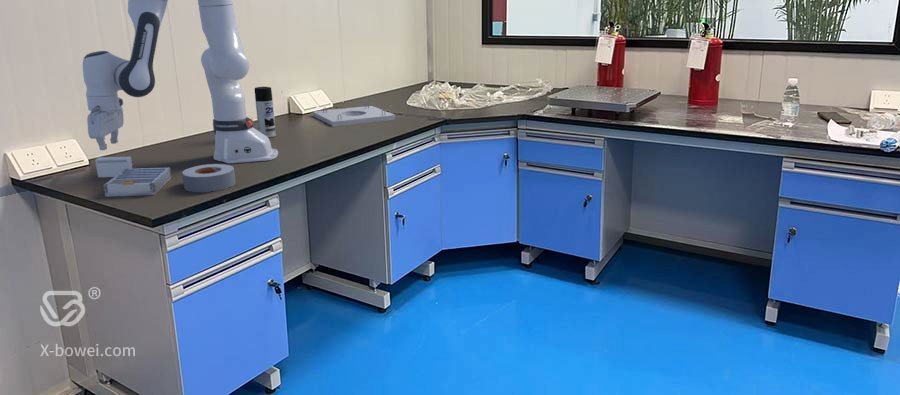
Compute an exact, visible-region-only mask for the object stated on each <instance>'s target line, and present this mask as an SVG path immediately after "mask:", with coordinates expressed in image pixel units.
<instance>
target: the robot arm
mask: <svg viewBox="0 0 900 395" xmlns="http://www.w3.org/2000/svg"><path fill="white" fill-rule="evenodd" d="M168 2H169V0H127V13H128V16H129V18H130V20H131V21H132V24H133V28H134V39H133V44H132V49H131V54H130V59H129V60H128V59H124V58H121V57H119V56H116V55H114V54H112V53H111V52H110V51H107V50H100V51H94V52H90V53H88V54H86V55H85V56H84V57H83V59H82V75H83V76H82V77H83V82H84V85H85V87H86V93H85V97H86V103H87V104H86V105H87V110H88V111H89V114H88V115H87V119H86V120H87V121H86V122H87V123H86V124H87V134H88V137H89V138H90V139H92V140H93V139H95V141H96V142H97V145H98V148H99V151H106V150H107V149H108V145H107V143H106V136H108V135H110V138H109V140H110V143H111V144H113V145H114V144H115V145H116V144H118V143H119V139H118V136H119V129H120V128H123V126H124V109H123V106H124V100H123V98H121V97H119V96H118V91H123V92H124V93H125V94H126V95H128V96H130V97H133V98H142V97H145V96H147V95H149V94H150V93H151V92H153V90H154V88H155V86H156V78H155V73H154V72H155V71H154V66H153V65H154V59H155V53H156V48H157V43H158V37H159V31H160V30H161V29H160V28H161V25H162V22H163V18H164V16H165V12H166V9H167V5H168ZM197 4H198V10H199V11H198V12H199V16H200V22H201V29H202V32H203V34H204V37H205V38H206V42H207V45H208V46H209V47H208V48H206V49H205V50H204V51H203V52H202V54H201V58H200V63H201V66H202V68H203V70H204V74H205V79H206V82H207V86H208V89H209V93H210V98H211V106H212V113H213V119H212V126H213V133H214V137H215V139H214V141H215V142H214V152H213V154H214V155H213V160H215V161H219V162H223V163H225V164H238V163H240V164H241V163H250V162H251V163H252V162H264V161H265V162H266V161H272V160H274V159H276V158H277V157H279V151H278V149H276V148H273V146H272V143H271V140H270V138H268V137H267V136H266V135H264V134H262V133H261V132H259V130H258V129H257V128H254V122H253V120H254V119H253V118H250V117H248V116H247V109H246V100H245V94H244V91H243V90H242V87H241V83H240V80H242V79H243V78H245V77H246V76H247V75H248V73H249V69H250V63H249V60H248V58H247V56H246V54H245V51H244V48H243V45H242V42H241V38H240V36H239V32H238V28H237V23H236V16H235V10H234V2H233V0H197Z"/></svg>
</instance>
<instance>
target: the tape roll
mask: <svg viewBox="0 0 900 395" xmlns="http://www.w3.org/2000/svg"><path fill="white" fill-rule="evenodd" d="M181 175H182V183H183V189H184V190H185V191H187V192H191V191H192V193H211V191H213V192H218V191H219V192H220V191H223V189H224V190H228V189H229V187H230V188H232V187H233V186H235V185H236V174H235V168H234V166H233V165H230V164H226V163H225V164H223V163H212V164H211V163H210V164H209V163H207V164H201V165H200V164H199V165H196V166H192V167H188V168H186V169H184V170H183V171H182V172H181Z"/></svg>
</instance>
